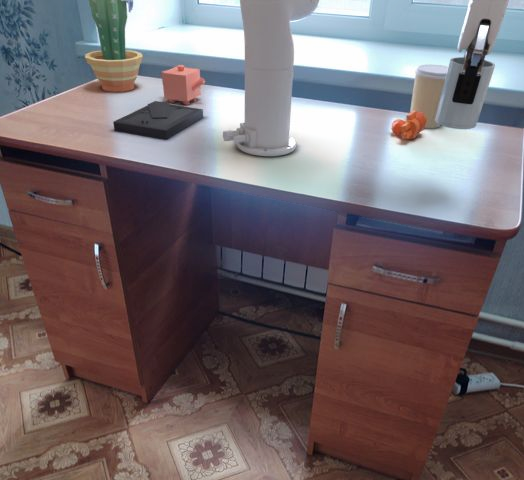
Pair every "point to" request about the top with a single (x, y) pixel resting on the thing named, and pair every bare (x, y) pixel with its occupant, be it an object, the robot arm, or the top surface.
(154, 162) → the top surface
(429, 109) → the coffee cup
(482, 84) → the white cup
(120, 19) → the potted cactus
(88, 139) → the top surface
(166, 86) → the pink cube teapot
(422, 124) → the orange lumpy piece
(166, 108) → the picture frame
